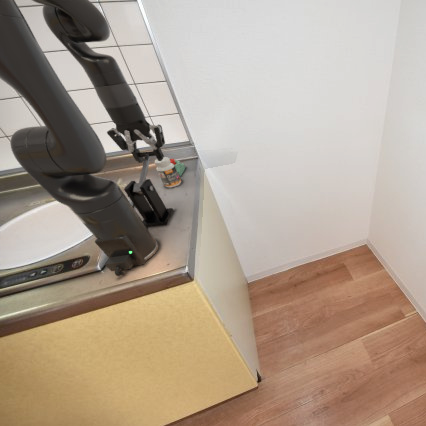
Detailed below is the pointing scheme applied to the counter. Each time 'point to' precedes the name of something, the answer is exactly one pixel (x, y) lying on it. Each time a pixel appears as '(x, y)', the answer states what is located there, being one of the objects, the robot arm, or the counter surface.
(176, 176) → the pill bottle
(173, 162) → the stop button
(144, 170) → the lever
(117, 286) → the counter surface
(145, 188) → the bracket
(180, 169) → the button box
